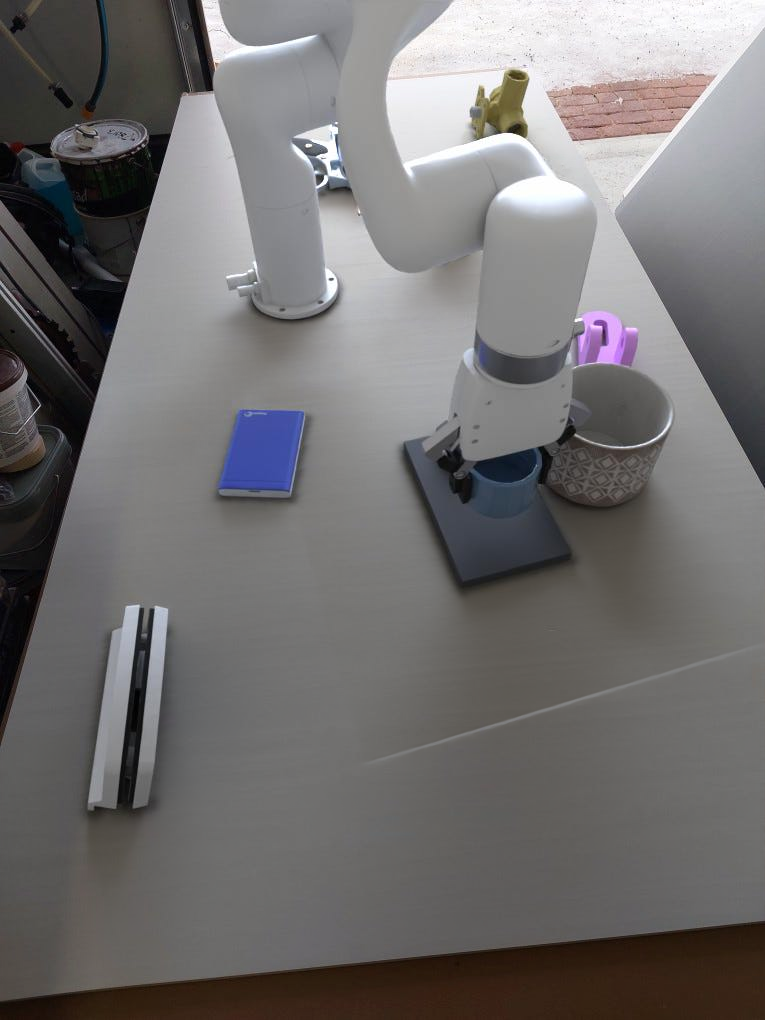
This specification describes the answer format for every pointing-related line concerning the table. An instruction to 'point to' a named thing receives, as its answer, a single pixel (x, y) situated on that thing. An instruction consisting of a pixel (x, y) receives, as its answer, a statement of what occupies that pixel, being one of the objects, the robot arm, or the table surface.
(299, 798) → the table surface
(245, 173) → the robot arm
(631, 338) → the bracket
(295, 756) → the table surface
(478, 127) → the ball valve
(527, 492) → the blue cup
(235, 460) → the hard drive
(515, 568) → the scale
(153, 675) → the white slotted block
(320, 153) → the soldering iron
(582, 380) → the planter
